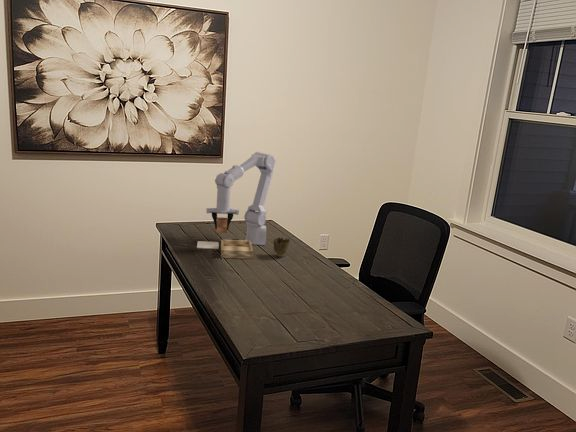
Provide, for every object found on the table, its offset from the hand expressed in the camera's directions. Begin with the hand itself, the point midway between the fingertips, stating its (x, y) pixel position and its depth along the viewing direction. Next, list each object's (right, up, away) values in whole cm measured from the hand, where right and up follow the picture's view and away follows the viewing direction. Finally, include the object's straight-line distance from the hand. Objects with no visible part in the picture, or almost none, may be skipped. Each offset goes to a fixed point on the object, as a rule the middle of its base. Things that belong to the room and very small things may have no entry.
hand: (221, 229), depth 241 cm
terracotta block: (0, -1, 0) cm, 1 cm away
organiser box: (+7, -11, 0) cm, 13 cm away
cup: (+27, -13, 0) cm, 30 cm away
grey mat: (-7, -8, +7) cm, 13 cm away
